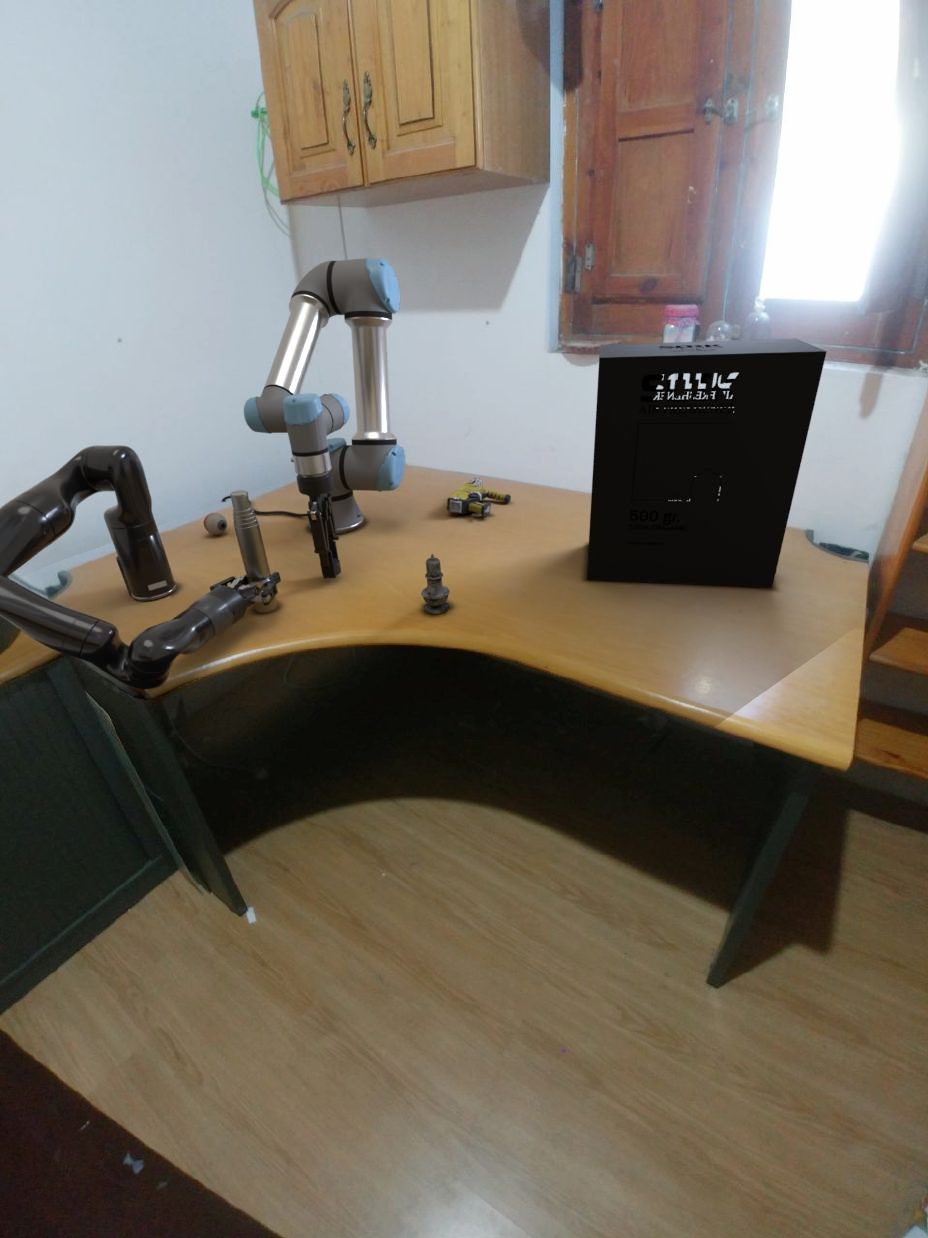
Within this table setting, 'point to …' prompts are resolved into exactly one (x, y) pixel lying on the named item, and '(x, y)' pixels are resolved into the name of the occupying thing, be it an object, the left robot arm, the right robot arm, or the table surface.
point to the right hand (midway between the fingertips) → (331, 572)
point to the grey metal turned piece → (435, 588)
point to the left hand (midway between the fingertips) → (267, 574)
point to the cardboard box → (698, 459)
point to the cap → (336, 566)
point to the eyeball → (215, 523)
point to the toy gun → (473, 499)
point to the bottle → (251, 544)
